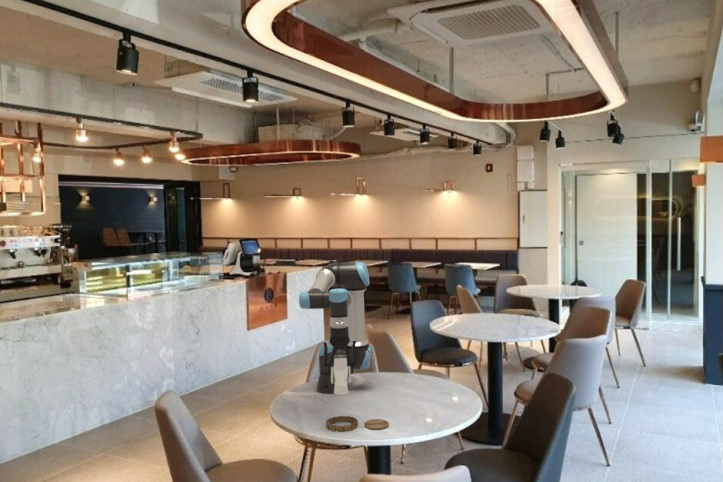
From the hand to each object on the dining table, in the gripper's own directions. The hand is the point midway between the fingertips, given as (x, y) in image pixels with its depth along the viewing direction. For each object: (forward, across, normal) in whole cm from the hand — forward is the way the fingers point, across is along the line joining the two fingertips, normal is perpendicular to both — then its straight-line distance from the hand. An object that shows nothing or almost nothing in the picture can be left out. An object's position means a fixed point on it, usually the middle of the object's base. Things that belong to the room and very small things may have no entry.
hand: (340, 381), depth 238 cm
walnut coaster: (+18, +14, -3) cm, 23 cm away
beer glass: (+5, 0, 0) cm, 5 cm away
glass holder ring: (+18, 0, 0) cm, 18 cm away
